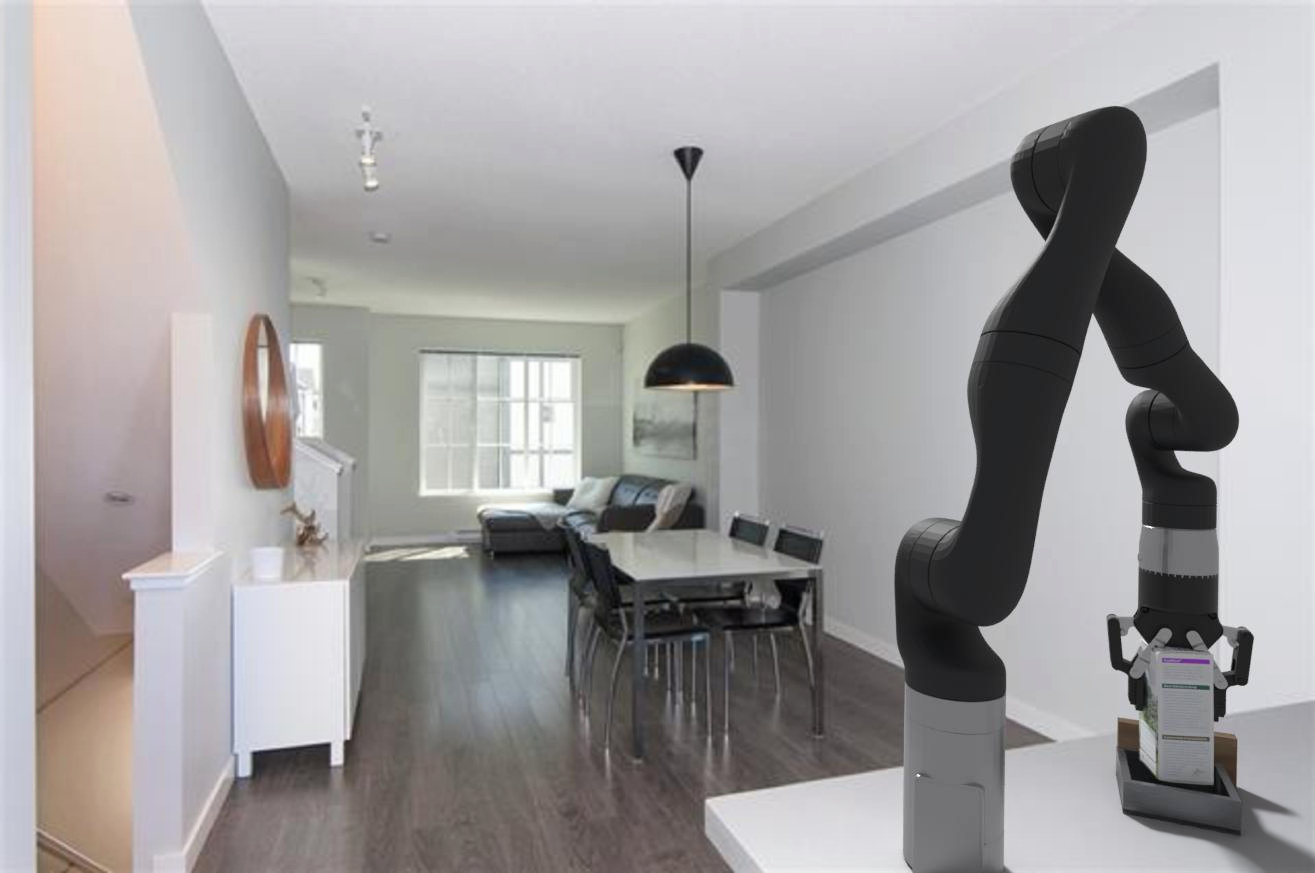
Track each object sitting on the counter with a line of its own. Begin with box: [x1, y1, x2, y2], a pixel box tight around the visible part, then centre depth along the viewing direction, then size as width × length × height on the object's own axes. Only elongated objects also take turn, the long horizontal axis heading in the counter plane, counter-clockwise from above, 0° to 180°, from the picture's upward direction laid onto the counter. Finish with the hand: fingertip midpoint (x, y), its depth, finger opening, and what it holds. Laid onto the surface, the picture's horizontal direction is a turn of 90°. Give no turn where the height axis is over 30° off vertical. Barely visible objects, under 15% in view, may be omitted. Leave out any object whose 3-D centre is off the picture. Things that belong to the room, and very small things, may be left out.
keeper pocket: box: [1115, 745, 1242, 836], centre depth 90 cm, size 11×11×4 cm
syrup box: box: [1138, 638, 1215, 785], centre depth 89 cm, size 6×6×14 cm
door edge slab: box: [1116, 716, 1238, 791], centre depth 96 cm, size 2×12×6 cm, turn 64°
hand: (1175, 713), depth 89 cm, fingers closed on syrup box, 6 cm apart
